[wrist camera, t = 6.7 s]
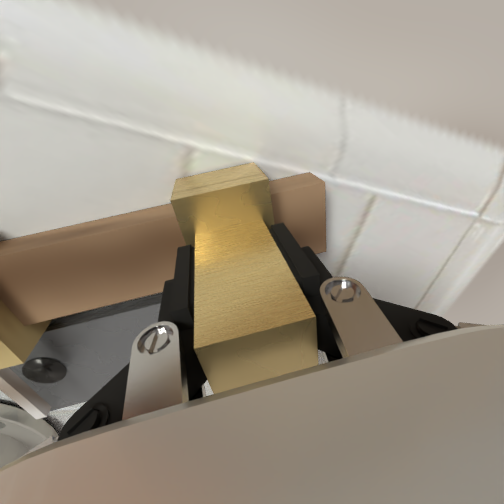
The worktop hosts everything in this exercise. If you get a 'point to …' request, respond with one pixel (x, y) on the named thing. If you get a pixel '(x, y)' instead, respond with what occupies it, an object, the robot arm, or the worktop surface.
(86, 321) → the hole plate
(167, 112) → the worktop surface
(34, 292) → the rail
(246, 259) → the slider head
